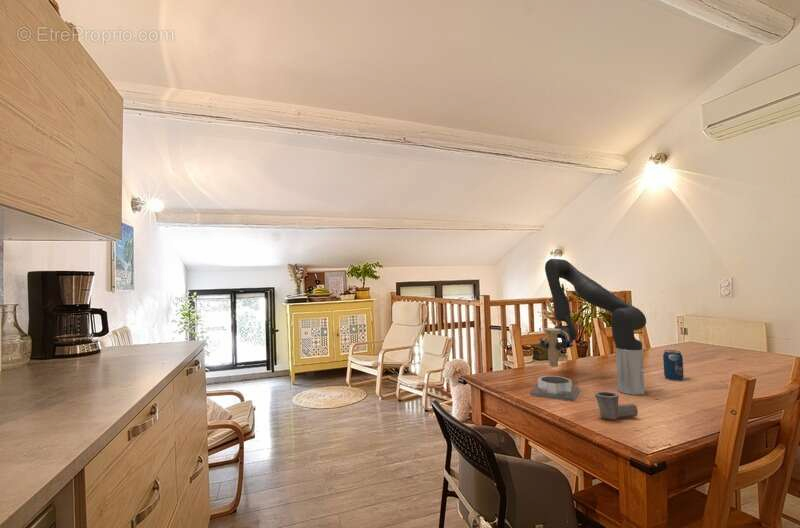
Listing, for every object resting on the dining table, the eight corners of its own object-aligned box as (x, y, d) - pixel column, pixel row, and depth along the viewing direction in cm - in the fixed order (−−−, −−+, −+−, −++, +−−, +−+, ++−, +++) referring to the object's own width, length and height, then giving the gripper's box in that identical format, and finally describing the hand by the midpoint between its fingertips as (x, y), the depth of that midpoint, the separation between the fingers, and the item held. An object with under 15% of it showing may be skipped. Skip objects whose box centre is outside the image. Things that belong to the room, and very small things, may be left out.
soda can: (681, 381, 160) (679, 353, 161) (662, 378, 166) (660, 351, 166) (685, 378, 165) (684, 351, 165) (667, 375, 170) (665, 349, 170)
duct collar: (579, 389, 154) (578, 377, 154) (574, 401, 141) (573, 387, 141) (538, 384, 163) (538, 373, 163) (530, 395, 149) (529, 382, 149)
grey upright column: (549, 363, 156) (548, 327, 157) (564, 366, 151) (562, 329, 151) (543, 366, 153) (541, 329, 154) (558, 368, 148) (556, 330, 148)
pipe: (641, 420, 121) (639, 395, 121) (601, 422, 121) (599, 397, 121) (629, 414, 127) (628, 390, 127) (591, 415, 127) (590, 391, 127)
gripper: (541, 329, 168) (532, 336, 154) (576, 331, 161) (570, 338, 146) (542, 346, 168) (533, 354, 154) (577, 349, 161) (571, 357, 146)
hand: (551, 346), depth 150 cm, fingers closed on grey upright column, 3 cm apart
